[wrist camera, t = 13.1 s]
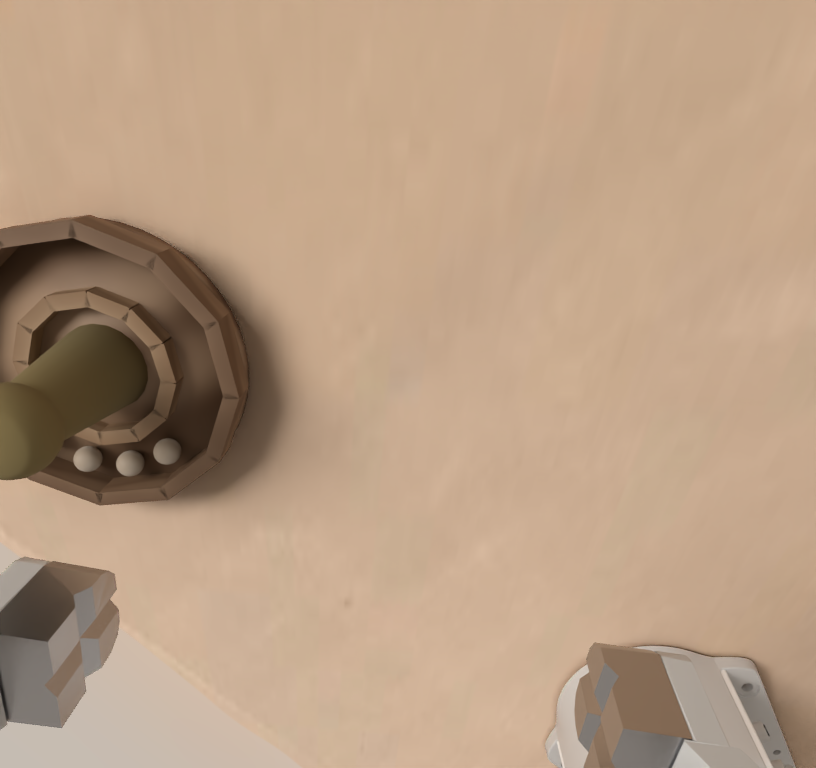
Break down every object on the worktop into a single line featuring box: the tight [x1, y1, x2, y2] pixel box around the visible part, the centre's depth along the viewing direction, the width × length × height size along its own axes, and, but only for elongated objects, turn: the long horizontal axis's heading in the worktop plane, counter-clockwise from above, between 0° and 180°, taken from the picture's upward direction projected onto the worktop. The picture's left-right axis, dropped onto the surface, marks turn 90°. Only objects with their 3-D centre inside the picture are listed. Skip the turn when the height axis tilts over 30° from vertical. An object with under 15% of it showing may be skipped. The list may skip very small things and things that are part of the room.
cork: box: [0, 324, 148, 480], centre depth 35 cm, size 6×6×11 cm
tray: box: [0, 215, 249, 505], centre depth 40 cm, size 19×19×3 cm
